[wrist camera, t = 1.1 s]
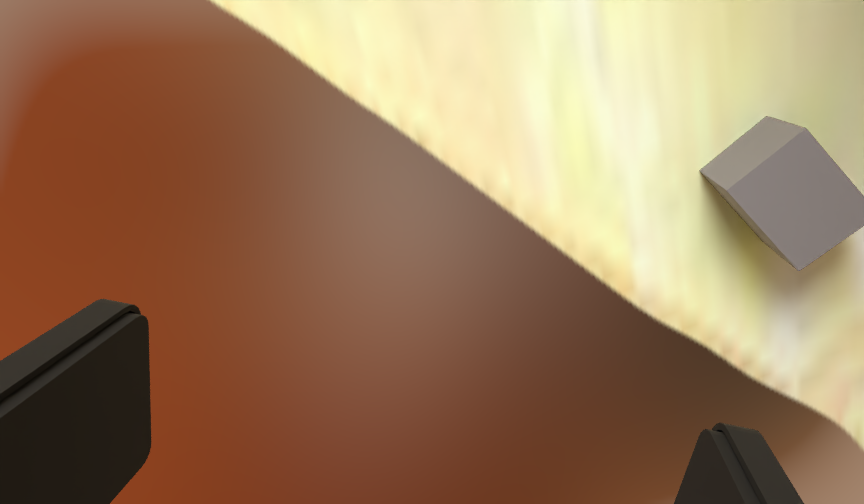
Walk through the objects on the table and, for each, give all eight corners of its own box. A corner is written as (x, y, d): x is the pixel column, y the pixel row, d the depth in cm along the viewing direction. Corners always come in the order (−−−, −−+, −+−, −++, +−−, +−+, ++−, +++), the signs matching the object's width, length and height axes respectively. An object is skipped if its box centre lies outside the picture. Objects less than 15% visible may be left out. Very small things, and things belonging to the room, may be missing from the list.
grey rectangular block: (766, 115, 34) (805, 128, 29) (830, 191, 35) (879, 214, 30) (698, 170, 35) (726, 190, 31) (762, 241, 36) (798, 271, 31)
